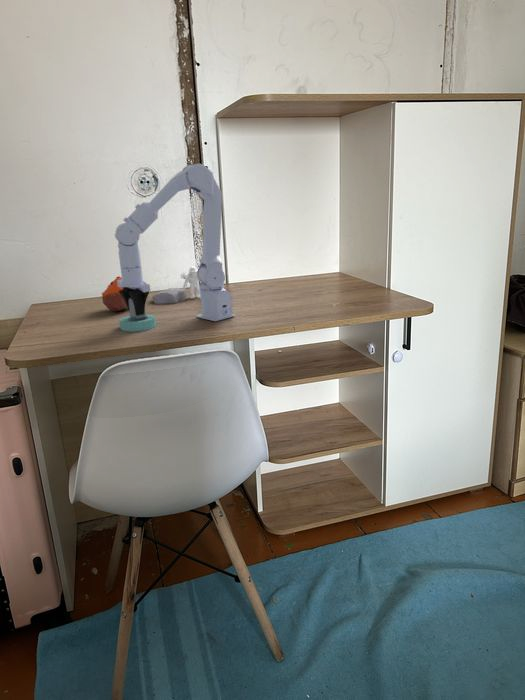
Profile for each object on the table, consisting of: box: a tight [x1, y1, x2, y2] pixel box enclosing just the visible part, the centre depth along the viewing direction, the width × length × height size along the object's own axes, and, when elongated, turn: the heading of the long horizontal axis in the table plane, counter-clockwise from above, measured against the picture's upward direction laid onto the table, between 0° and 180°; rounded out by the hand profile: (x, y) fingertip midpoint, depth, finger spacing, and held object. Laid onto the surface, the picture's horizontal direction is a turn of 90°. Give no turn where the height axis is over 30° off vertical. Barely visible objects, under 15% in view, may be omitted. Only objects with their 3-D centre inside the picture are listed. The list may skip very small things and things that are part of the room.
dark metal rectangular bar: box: [128, 298, 146, 321], centre depth 156 cm, size 3×3×8 cm
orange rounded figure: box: [101, 276, 128, 312], centre depth 178 cm, size 12×10×11 cm
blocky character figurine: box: [180, 262, 201, 299], centre depth 191 cm, size 9×4×12 cm, turn 101°
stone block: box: [151, 287, 187, 305], centre depth 191 cm, size 12×5×10 cm
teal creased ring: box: [119, 313, 157, 333], centre depth 157 cm, size 10×10×2 cm
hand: (136, 313), depth 156 cm, fingers closed on dark metal rectangular bar, 3 cm apart
